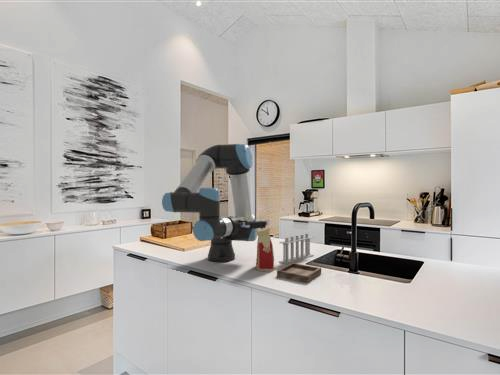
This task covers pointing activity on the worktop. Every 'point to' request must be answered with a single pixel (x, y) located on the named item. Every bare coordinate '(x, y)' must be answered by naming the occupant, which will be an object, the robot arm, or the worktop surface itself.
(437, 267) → the worktop surface
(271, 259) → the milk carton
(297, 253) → the test tube rack
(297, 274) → the walnut tray
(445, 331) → the worktop surface
